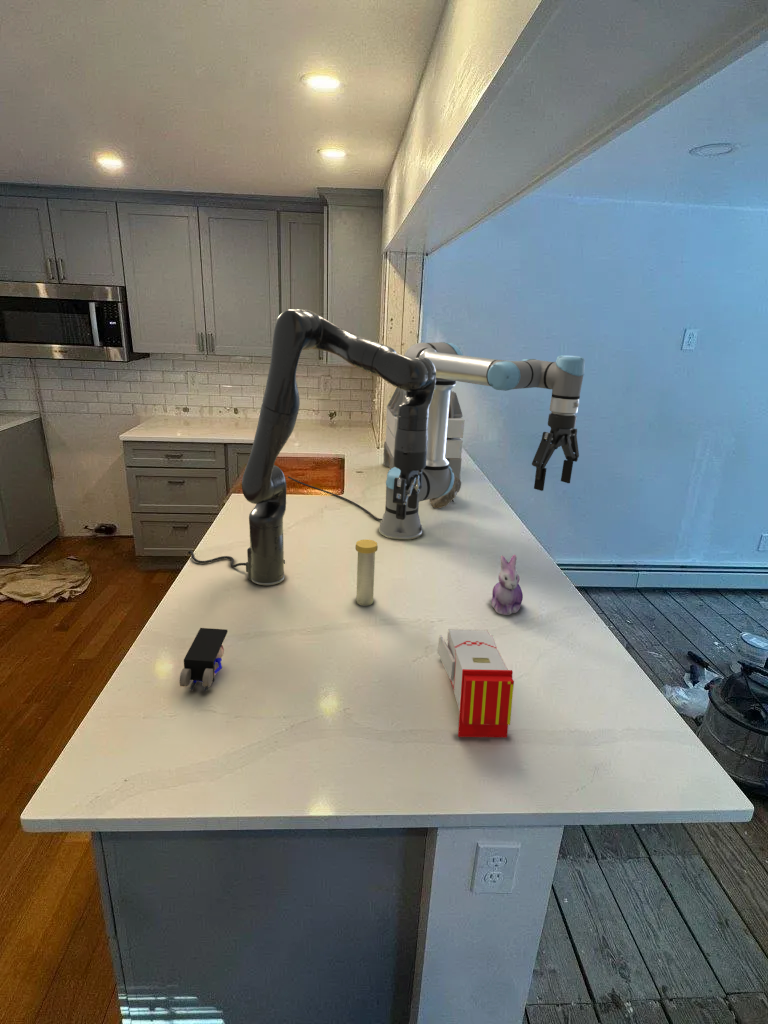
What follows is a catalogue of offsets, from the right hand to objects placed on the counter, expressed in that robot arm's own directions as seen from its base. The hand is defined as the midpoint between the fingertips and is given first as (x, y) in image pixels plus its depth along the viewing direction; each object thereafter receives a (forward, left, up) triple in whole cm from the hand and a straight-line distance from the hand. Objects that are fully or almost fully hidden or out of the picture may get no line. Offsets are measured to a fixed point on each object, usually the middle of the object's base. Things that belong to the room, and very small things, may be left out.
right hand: (552, 485), depth 166 cm
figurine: (+8, -26, -28) cm, 39 cm away
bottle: (-18, -55, -28) cm, 64 cm away
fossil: (-64, +25, -28) cm, 74 cm away
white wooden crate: (-101, +46, -28) cm, 115 cm away
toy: (+26, -62, -28) cm, 72 cm away
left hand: (-5, -53, +1) cm, 53 cm away
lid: (-18, -55, -11) cm, 59 cm away
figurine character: (-12, -102, -28) cm, 107 cm away
